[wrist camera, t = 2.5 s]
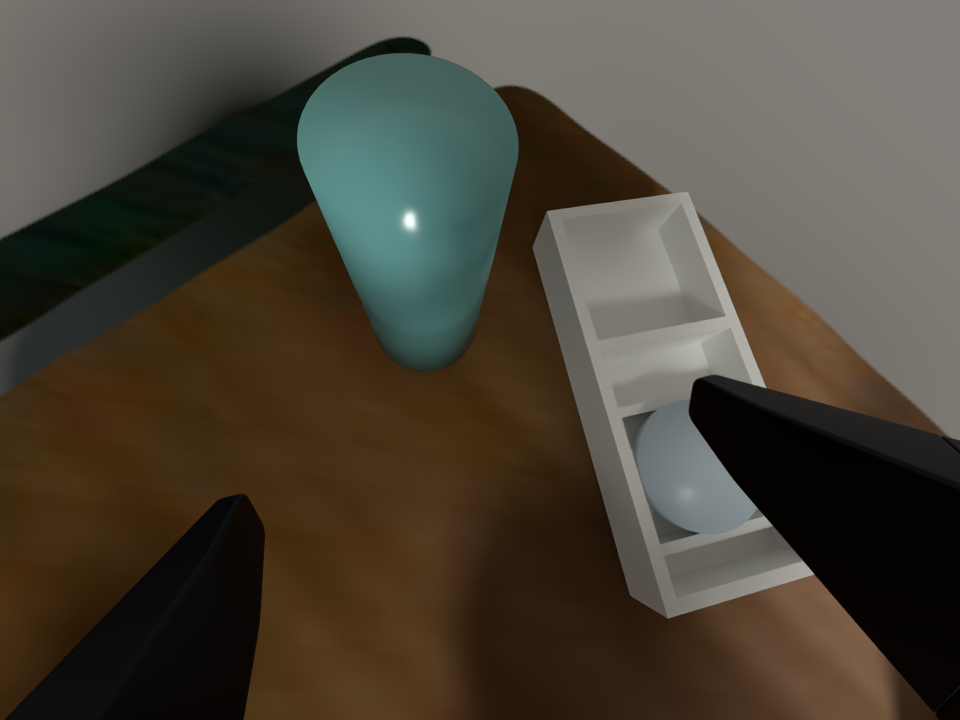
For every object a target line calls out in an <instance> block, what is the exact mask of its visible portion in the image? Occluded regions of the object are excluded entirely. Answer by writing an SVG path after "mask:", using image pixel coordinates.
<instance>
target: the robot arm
mask: <svg viewBox="0 0 960 720" xmlns="http://www.w3.org/2000/svg"><path fill="white" fill-rule="evenodd" d="M688 411H689V416H690V419H691V421H692V423H693V424H694V425H695V427H696V428H697V430H698V431H699V432H700V434H701V435H702V437H703V438H704V440H705V441H706V442H707V444H708V445H709V447H710V448H711V449H712V451H713V452H714V454H715V455H716V457H717V458H718V459H719V461H720V462H721V464H722V465H723V466H724V468H725V469H726V471H727V472H728V473H729V475H730V476H731V477H732V479H733V480H734V481H735V482H736V484H737V485H738V486H739V487H740V488H741V490H742V491H743V492H744V493H745V494H746V495H747V497H748V498H749V499H750V500H751V501H752V502H753V504H754V505H755V506H756V507H757V508H758V509H759V511H760V512H761V513H762V514H763V515H764V516H765V518H766V519H767V520H768V521H769V522H770V523H771V525H772V526H773V527H774V528H775V529H776V530H777V531H778V533H779V534H780V535H781V536H782V537H783V538H784V540H785V541H786V542H787V543H788V544H789V545H790V547H791V548H792V549H793V550H794V551H795V552H796V554H797V555H798V556H799V557H800V558H801V559H802V560H803V562H804V563H805V564H806V565H807V566H808V567H809V569H810V570H811V571H812V572H813V573H814V574H815V576H816V577H817V578H818V579H819V580H820V581H821V583H822V584H823V585H824V586H825V587H826V588H827V589H828V591H829V592H830V593H831V594H832V595H833V596H834V598H835V599H836V600H837V601H838V602H839V603H840V605H841V606H842V607H843V608H844V609H845V610H846V612H847V613H848V614H849V615H850V616H851V617H852V619H853V620H854V621H855V622H856V623H857V624H858V625H859V627H860V628H861V629H862V630H863V631H864V632H865V634H866V635H867V636H868V637H869V638H870V639H871V641H872V642H873V643H874V644H875V645H876V646H877V648H878V649H879V650H880V651H881V652H882V653H883V654H884V656H885V657H886V658H887V659H888V660H889V661H890V663H891V664H892V665H893V666H894V667H895V668H896V670H897V671H898V672H899V673H900V674H901V675H902V677H903V678H904V679H905V680H906V681H907V682H908V684H909V685H910V686H911V687H912V688H913V689H914V690H915V692H916V693H917V694H918V695H919V696H920V697H921V699H922V700H923V701H924V702H925V703H926V704H927V706H928V707H929V708H930V709H931V710H932V711H933V712H936V716H937V718H938V719H939V720H960V441H959V440H956V439H952V438H948V437H944V436H943V437H940V436H938V435H937V434H933V433H930V432H926V431H922V430H919V429H915V428H911V427H908V426H904V425H900V424H896V423H893V422H889V421H885V420H882V419H878V418H874V417H871V416H867V415H863V414H860V413H856V412H852V411H849V410H845V409H841V408H838V407H834V406H830V405H826V404H823V403H819V402H815V401H812V400H808V399H804V398H801V397H797V396H793V395H790V394H786V393H782V392H779V391H775V390H771V389H767V388H764V387H760V386H756V385H753V384H749V383H745V382H742V381H738V380H734V379H731V378H727V377H723V376H720V375H708V376H704V377H700V378H697V379H696V380H695V381H694V383H693V385H692V391H691V397H690V403H689V409H688ZM264 543H265V531H264V526H263V523H262V521H261V519H260V518H259V516H258V514H257V512H256V510H255V509H254V507H253V505H252V503H251V501H250V500H249V498H248V497H247V496H246V495H245V494H237V495H233V496H229V497H225V498H222V499H219V500H218V501H216V502H215V503H214V504H213V505H212V506H211V507H210V508H209V509H208V510H207V511H206V513H205V514H204V515H203V516H202V517H201V518H200V519H199V520H198V521H197V522H196V523H195V524H194V525H193V526H192V527H191V528H190V529H189V530H188V531H187V532H186V533H185V534H184V535H183V536H182V537H181V538H180V539H179V540H178V541H177V542H176V543H175V544H174V546H173V547H172V548H171V549H170V550H169V551H168V552H167V553H166V554H165V555H164V556H163V557H162V558H161V559H160V560H159V561H158V562H157V563H156V564H155V565H154V566H153V567H152V568H151V569H150V570H149V571H148V572H147V573H146V574H145V575H144V576H143V577H142V579H141V580H140V581H139V582H138V583H137V584H136V585H135V586H134V587H133V588H132V589H131V590H130V591H129V592H128V593H127V594H126V595H125V596H124V597H123V598H122V599H121V600H120V601H119V602H118V603H117V604H116V605H115V606H114V607H113V608H112V609H111V610H110V612H109V613H108V614H107V615H106V616H105V617H104V618H103V619H102V620H101V621H100V622H99V623H98V624H97V625H96V626H95V627H94V628H93V629H92V630H91V631H90V632H89V633H88V634H87V635H86V636H85V637H84V638H83V639H82V640H81V641H80V642H79V643H78V645H77V646H76V647H75V648H74V649H73V650H72V651H71V652H70V653H69V654H68V655H67V656H66V657H65V658H64V659H63V660H62V661H61V662H60V663H59V664H58V665H57V666H56V667H55V668H54V669H53V670H52V671H51V672H50V673H49V674H48V675H47V676H46V677H45V678H44V680H43V681H42V682H41V683H40V684H39V685H38V686H37V687H36V688H35V689H34V690H33V691H32V692H31V693H30V694H29V695H28V696H27V697H26V698H25V699H24V700H23V701H22V702H21V703H20V704H19V705H18V706H17V707H16V708H15V709H14V710H13V711H12V712H11V714H10V715H9V716H8V717H7V718H6V719H5V720H244V714H245V708H246V702H247V697H248V691H249V685H250V679H251V673H252V667H253V661H254V655H255V649H256V643H257V637H258V630H259V623H260V613H261V598H262V579H263V561H264Z"/></svg>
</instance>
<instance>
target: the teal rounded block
mask: <svg viewBox="0 0 960 720" xmlns="http://www.w3.org/2000/svg"><path fill="white" fill-rule="evenodd" d="M297 144H298V153H299V157H300V162H301V164H302V166H303V169H304V172H305V174H306V177H307V179H308V181H309V183H310V186H311V188H312V190H313V193H314V195H315V197H316V200H317V202H318V204H319V207H320V209H321V211H322V213H323V216H324V218H325V220H326V223H327V225H328V227H329V230H330V232H331V234H332V236H333V239H334V241H335V243H336V246H337V248H338V250H339V253H340V255H341V257H342V259H343V262H344V264H345V266H346V269H347V271H348V273H349V276H350V278H351V280H352V282H353V285H354V287H355V289H356V292H357V294H358V296H359V299H360V301H361V303H362V305H363V308H364V310H365V312H366V315H367V317H368V319H369V322H370V324H371V326H372V328H373V331H374V333H375V335H376V338H377V340H378V342H379V344H380V346H381V348H382V349H383V351H384V352H385V353H386V354H387V355H388V356H389V357H390V358H391V359H392V360H393V361H395V362H396V363H398V364H400V365H402V366H404V367H406V368H409V369H413V370H419V371H432V370H438V369H441V368H444V367H447V366H449V365H451V364H453V363H454V362H456V361H457V360H458V359H460V358H461V357H462V356H463V355H464V354H465V352H466V351H467V350H468V348H469V347H470V345H471V343H472V341H473V338H474V335H475V331H476V327H477V323H478V319H479V315H480V311H481V307H482V302H483V298H484V294H485V290H486V286H487V282H488V278H489V274H490V270H491V266H492V262H493V258H494V254H495V250H496V246H497V242H498V238H499V234H500V229H501V225H502V221H503V217H504V213H505V209H506V205H507V201H508V197H509V193H510V189H511V185H512V181H513V177H514V173H515V169H516V165H517V161H518V151H519V145H518V135H517V130H516V126H515V123H514V120H513V118H512V115H511V113H510V111H509V110H508V108H507V106H506V104H505V103H504V101H503V100H502V99H501V97H500V96H499V95H498V94H497V93H496V92H495V90H494V89H493V88H492V87H491V86H490V85H488V84H487V83H486V82H485V81H484V80H482V79H481V78H480V77H478V76H477V75H475V74H474V73H472V72H471V71H469V70H467V69H465V68H463V67H461V66H459V65H457V64H455V63H452V62H449V61H447V60H444V59H440V58H436V57H433V56H427V55H421V54H409V53H399V54H386V55H379V56H375V57H370V58H366V59H363V60H361V61H358V62H355V63H353V64H351V65H349V66H346V67H344V68H342V69H341V70H339V71H338V72H336V73H335V74H333V75H332V76H330V77H329V78H328V79H327V80H326V81H324V82H323V83H322V84H321V85H320V86H319V87H318V88H317V90H316V91H315V92H314V93H313V94H312V96H311V97H310V99H309V100H308V102H307V104H306V106H305V108H304V110H303V112H302V115H301V118H300V122H299V125H298V134H297Z"/></svg>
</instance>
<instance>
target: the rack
mask: <svg viewBox="0 0 960 720" xmlns="http://www.w3.org/2000/svg"><path fill="white" fill-rule="evenodd" d="M532 248H533V251H534V255H535V258H536V262H537V265H538V269H539V273H540V276H541V280H542V283H543V287H544V290H545V294H546V298H547V301H548V305H549V308H550V312H551V315H552V319H553V323H554V326H555V330H556V333H557V337H558V340H559V344H560V347H561V351H562V355H563V358H564V362H565V365H566V369H567V372H568V376H569V380H570V383H571V387H572V390H573V394H574V397H575V401H576V405H577V408H578V412H579V415H580V419H581V422H582V426H583V430H584V433H585V437H586V440H587V444H588V447H589V451H590V455H591V458H592V462H593V465H594V469H595V472H596V476H597V480H598V483H599V487H600V490H601V494H602V497H603V501H604V505H605V508H606V512H607V515H608V519H609V522H610V526H611V530H612V533H613V537H614V540H615V544H616V547H617V551H618V555H619V558H620V562H621V565H622V569H623V572H624V576H625V580H626V583H627V587H628V590H629V594H630V596H631V597H633V598H635V599H636V600H638V601H640V602H641V603H643V604H645V605H646V606H648V607H650V608H651V609H653V610H655V611H656V612H658V613H660V614H661V615H663V616H664V617H666V618H672V617H675V616H678V615H681V614H685V613H688V612H691V611H695V610H698V609H701V608H705V607H708V606H711V605H715V604H718V603H721V602H725V601H728V600H731V599H735V598H738V597H741V596H745V595H748V594H751V593H755V592H758V591H761V590H765V589H768V588H771V587H775V586H778V585H781V584H785V583H788V582H791V581H795V580H798V579H801V578H805V577H808V576H811V575H815V574H814V573H813V572H812V571H811V570H810V569H809V567H808V566H807V565H806V564H805V563H804V562H803V560H802V559H801V558H800V557H799V556H798V555H797V554H796V552H795V551H794V550H793V549H792V548H791V547H790V545H789V544H788V543H787V542H786V541H785V540H784V538H783V537H782V536H781V535H780V534H779V533H778V531H777V530H776V529H775V528H774V527H773V526H772V525H771V523H770V522H769V521H768V520H767V519H766V518H765V516H764V515H763V514H762V513H761V512H760V511H759V509H758V508H757V507H756V506H755V505H754V504H753V502H752V501H751V500H750V499H749V498H748V497H747V495H746V494H745V493H744V492H743V491H742V490H741V488H740V487H739V486H738V485H737V484H736V482H735V481H734V480H733V479H732V477H731V476H730V475H729V473H728V472H727V471H726V469H725V468H724V466H723V465H722V464H721V462H720V461H719V459H718V458H717V457H716V455H715V454H714V452H713V451H712V449H711V448H710V447H709V445H708V444H707V442H706V441H705V440H704V438H703V437H702V435H701V434H700V432H699V431H698V430H697V428H696V427H695V425H694V424H693V423H692V421H691V419H690V416H689V411H688V409H689V403H690V397H691V391H692V385H693V383H694V381H695V380H696V379H697V378H700V377H704V376H708V375H720V376H723V377H727V378H731V379H734V380H738V381H742V382H745V383H749V384H753V385H756V386H760V387H764V388H766V386H765V384H764V381H763V379H762V376H761V374H760V371H759V369H758V366H757V364H756V361H755V359H754V356H753V354H752V351H751V349H750V346H749V344H748V341H747V339H746V336H745V334H744V331H743V329H742V326H741V324H740V321H739V319H738V316H737V314H736V311H735V309H734V306H733V304H732V301H731V299H730V296H729V294H728V291H727V289H726V286H725V284H724V281H723V279H722V276H721V274H720V271H719V269H718V266H717V264H716V261H715V259H714V256H713V254H712V251H711V248H710V246H709V243H708V241H707V238H706V236H705V233H704V231H703V228H702V226H701V223H700V221H699V218H698V216H697V213H696V211H695V208H694V206H693V204H692V201H691V198H690V196H689V193H688V192H681V193H674V194H667V195H659V196H652V197H645V198H638V199H630V200H623V201H616V202H609V203H602V204H594V205H587V206H580V207H573V208H565V209H558V210H551V211H547V212H546V215H545V217H544V220H543V222H542V225H541V227H540V230H539V232H538V235H537V237H536V240H535V242H534V245H533V247H532Z"/></svg>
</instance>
